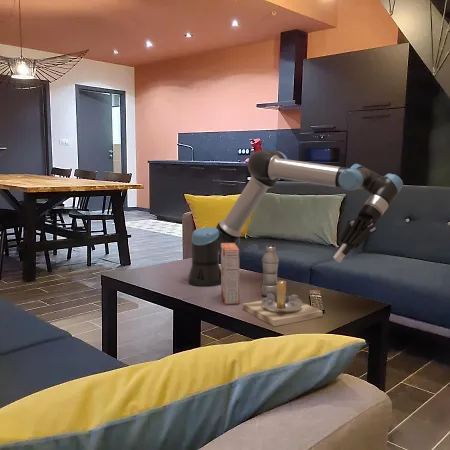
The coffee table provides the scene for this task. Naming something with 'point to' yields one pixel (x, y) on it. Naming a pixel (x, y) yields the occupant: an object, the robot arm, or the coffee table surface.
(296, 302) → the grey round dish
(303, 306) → the nut board
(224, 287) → the cracker box
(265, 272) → the plastic bottle
